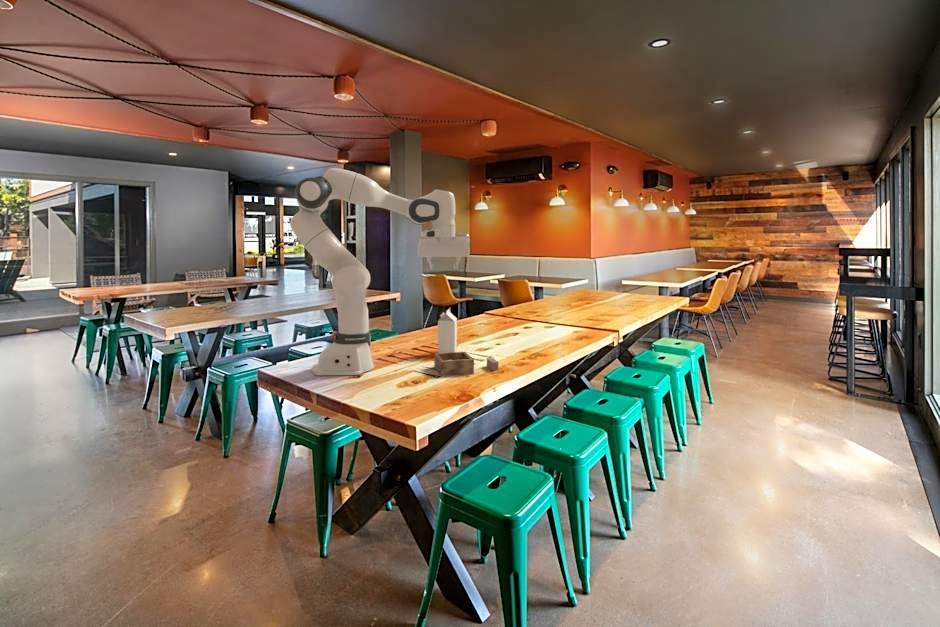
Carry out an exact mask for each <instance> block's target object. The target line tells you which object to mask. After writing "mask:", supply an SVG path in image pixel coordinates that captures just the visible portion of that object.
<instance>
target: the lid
mask: <svg viewBox="0 0 940 627" xmlns="http://www.w3.org/2000/svg"><path fill="white" fill-rule="evenodd" d="M486 367H487V368H488V369H490V370H491V371H499V361H498V360H496V359H495V358H493V357H490V358H489V357H488V358H486Z"/></svg>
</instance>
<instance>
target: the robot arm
mask: <svg viewBox="0 0 940 627" xmlns="http://www.w3.org/2000/svg"><path fill="white" fill-rule="evenodd" d="M294 193H295V198H296V201H297V203H298V206H299V210H298V211H297V212H296V213H295V214H294V215H293V216H292V218H291V219H290V222H289V225H290V228H291V230H292V231H293V233H294V235H295V237H296V239H298V241H299V243H301V246H303V247H304V249H305V250H306V251H307V253H308V254H310V256H311V257H312V258H313V259H314V261H315V262H317V264H318V265H319V266H320V267H322V268H324V270H325V271H326V272H328V273H329V274H330V275H332V279H331V285H332V286H331V287H332V288H333V293H334V299H335V304H336V308H337V310H336V311H337V322H338V323H337V324H338V327H337V328H338V331H336V330H335V331H332V333H331V337H332V341H333V342H332V343H331V344H329V345H328V346H327V347H325V348H324V349H322V351H320V354H319V355H318V361H317V363H316V364H314V365H313V366H312V370H311V372H312V374H313V375H315V376H358V375H361V374H363V373H365V372H368V371H372V370H373V369H374V368H375V365H374V362H373V358H372V353H371V347H370V346H371V342H372V341H371V338H372V337H371V331H370V330H369V329H370V328H369V327H370V324H369V323H370V322H369V321H370V320H369V308H368V305H367V298H366V297H367V296H366V289H368V287H369V286H370V283H371V273H370V271H369V270H368V269H367V267H366V266H364V265H363V264H362V263H361V262H360V261H359V259H358V258H357V257H355V255H354V254H352V253H351V252H350V251H349V250H348V249H347V248H346V247H345V246H344V245H343V243H341V241H340V240H339V239H338V238H337V236H336V235H335V234H334V233H333V232H332V230H331V229H330V228H329V227H328V226H327V225H326V223H325V222H324V221H323V219H322V218H323V215H324V214H325V212H326V211H328V210H327V209H328V208H329V205H330V201H332V200H342V201H344V202H347V203H350V204H352V205H353V204H354V205H356V206H362V207H371V208H373V207H374V208H382V209H385V210H389V211H391V212H393V213H396V214H400V215H402V216H404V217H406V218H407V220H409V221H410V222H411V223H413V224H414V225H418V226H423V225H426V224H427V223H429V222H431V224H432V228H429V229H426V230H422V231H421V232H420V237H421V238H420V239H419V241H418V245H417V255H418V258H419V257H420V258H426V261H427V263H428V264H429V269H430V270H435V264H433V263H432V259H433V258H455V259H456V261H455V263H452V264H453V269H454V270H456V269H457V270H458V269H459V264H460V263H461V261H462V258H468V257H470V253H471V251H470V242H471V237H470V235H469V234H468V233H465V232H456V221H455V218H456V199H455V195H454V193H453V192H451V191H449V190H446V189H439V188H437V189H434V190H433V191H432V192H430V193H428V194H426V195H424V196H421V197H417V198H415V199H410V198H409V199H408V198H405V197H402V196H400V195H397V194H393V193H391V192H389V191H387V190H385V189H384V188H382V186H380V185H379V184H378V182H376V181H375V180H373V179H371V178H370V177H368V176H366V175H363V174H361V173H357V172H356V171H352V170H348V169H343V168H339V167H331V168H328V169H327V170H326V171H325V172H324V173H323V176H321V175H320V176H314V177H313V176H312V177H304V178H302V179H301V180H300V181H299V182H298V183H297V185H296V186H295V192H294Z"/></svg>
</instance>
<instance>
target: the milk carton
mask: <svg viewBox="0 0 940 627" xmlns="http://www.w3.org/2000/svg"><path fill="white" fill-rule="evenodd" d="M439 317H440V318H439V319H438V320H437V353H450V352H458V350H457V349H458V344H457V342H458V340H457V339H458V325H457V324H458V318H457V317H456V316H455V315H454V314H453V313H452V312H451V311H450V308H448V309H447V310H446V311H445V312H442V313H441V314H440V315H439Z"/></svg>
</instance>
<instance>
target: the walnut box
mask: <svg viewBox="0 0 940 627" xmlns="http://www.w3.org/2000/svg"><path fill="white" fill-rule="evenodd" d="M433 355H434V356H433V357H434V358H433V359H434V363H433V365H434V368H435V370H437V372H438V374H440V376H442V377H447V376H458V375H459V376H460V375H471V374H474V373H475V372H474V370H475V360H474V358H473V357H471V355H469V353H467V352H466V351H457V352H450V353H438V352H437V353H433ZM445 360H447V361H445Z"/></svg>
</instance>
